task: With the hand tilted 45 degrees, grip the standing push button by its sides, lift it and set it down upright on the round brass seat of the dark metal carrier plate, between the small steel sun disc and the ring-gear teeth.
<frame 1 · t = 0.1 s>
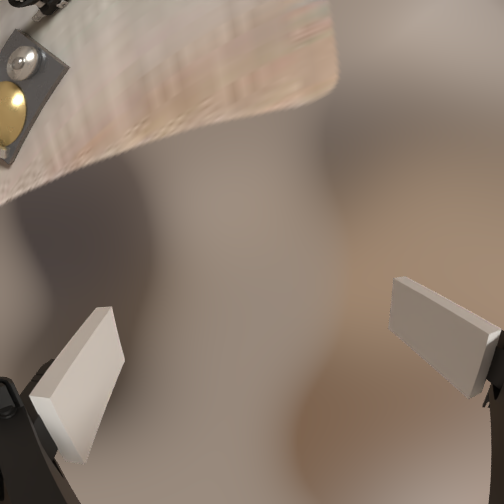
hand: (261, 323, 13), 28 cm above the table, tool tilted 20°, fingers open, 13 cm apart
push button: (57, 3, 22), on the table
carrier plate: (13, 95, 27), on the table
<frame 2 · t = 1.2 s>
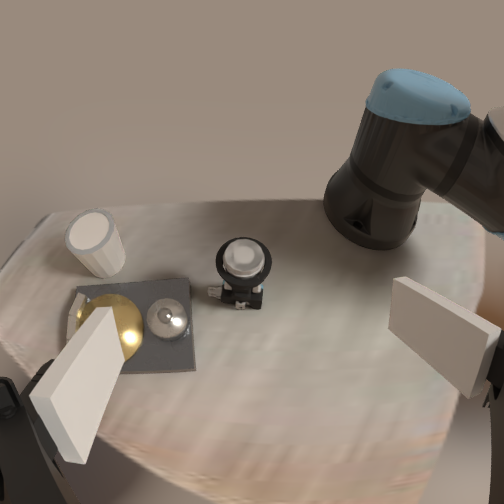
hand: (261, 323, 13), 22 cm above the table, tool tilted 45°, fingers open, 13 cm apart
push button: (236, 298, 38), on the table
carrier plate: (131, 329, 34), on the table
white tapered cup: (107, 260, 39), on the table
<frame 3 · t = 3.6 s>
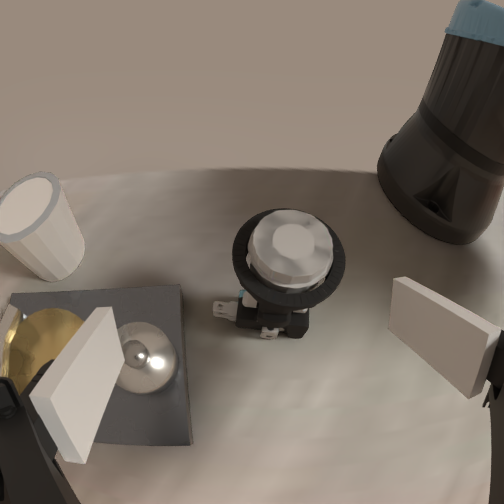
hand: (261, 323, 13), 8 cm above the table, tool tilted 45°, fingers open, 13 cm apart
push button: (260, 319, 22), on the table
carrier plate: (86, 367, 19), on the table
white tapered cup: (59, 255, 24), on the table
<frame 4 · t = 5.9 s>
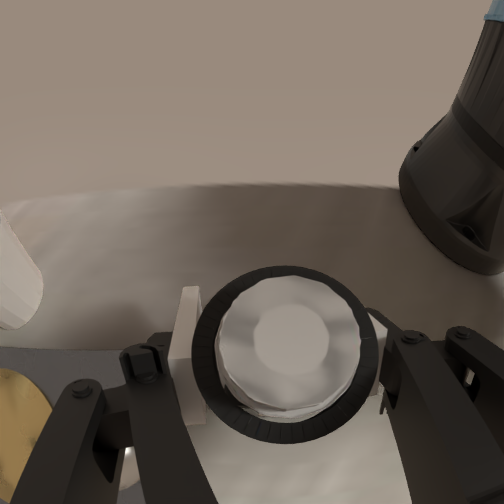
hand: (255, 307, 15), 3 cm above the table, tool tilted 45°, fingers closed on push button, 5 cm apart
push button: (259, 390, 16), on the table, touching gripper
carrier plate: (50, 439, 13), on the table
white tapered cup: (16, 295, 18), on the table
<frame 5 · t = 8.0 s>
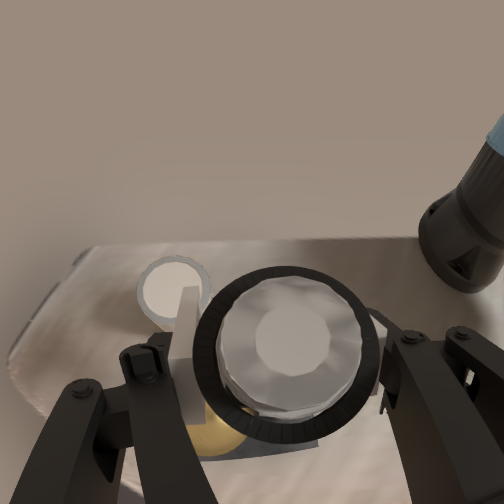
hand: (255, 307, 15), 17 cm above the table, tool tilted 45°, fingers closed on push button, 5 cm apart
push button: (259, 390, 16), point 14 cm above the table, touching gripper
carrier plate: (232, 405, 28), on the table
white tapered cup: (184, 316, 33), on the table
when the fingers open (7 cm above the table, at t = 10.4 s): push button drops 2 cm, resting on carrier plate.
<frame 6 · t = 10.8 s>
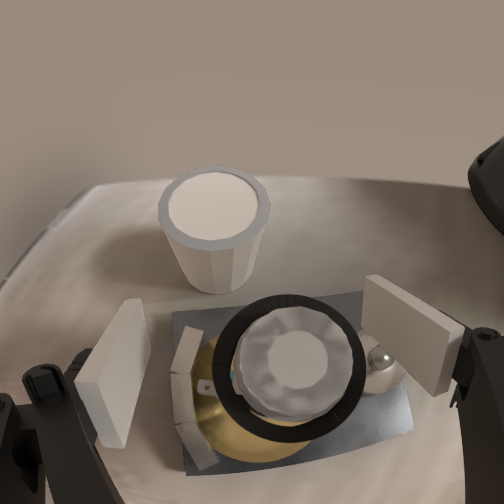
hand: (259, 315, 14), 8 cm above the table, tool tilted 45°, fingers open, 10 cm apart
push button: (255, 394, 18), point 2 cm above the table, touching carrier plate
carrier plate: (292, 383, 20), on the table
white tapered cup: (217, 263, 25), on the table
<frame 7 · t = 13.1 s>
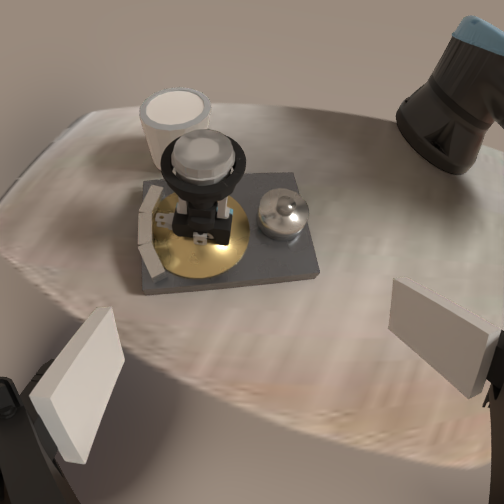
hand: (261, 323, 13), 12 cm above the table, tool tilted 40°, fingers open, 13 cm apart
push button: (195, 230, 27), point 2 cm above the table, touching carrier plate
carrier plate: (224, 231, 29), on the table
white tapered cup: (178, 156, 32), on the table
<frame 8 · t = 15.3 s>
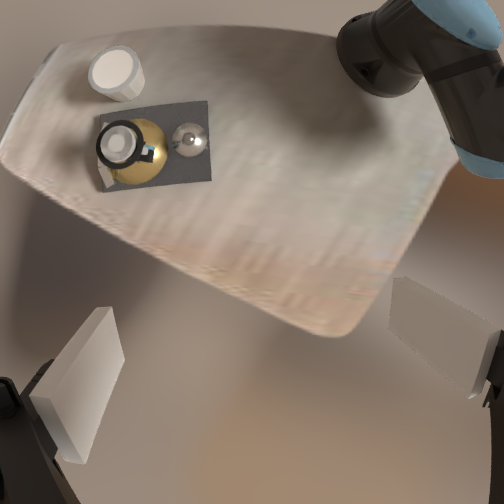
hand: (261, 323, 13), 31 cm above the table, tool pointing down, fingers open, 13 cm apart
push button: (133, 151, 38), point 2 cm above the table, touching carrier plate
carrier plate: (154, 146, 39), on the table
white tapered cup: (126, 84, 37), on the table
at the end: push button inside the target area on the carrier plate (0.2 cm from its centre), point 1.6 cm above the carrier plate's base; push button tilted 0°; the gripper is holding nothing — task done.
